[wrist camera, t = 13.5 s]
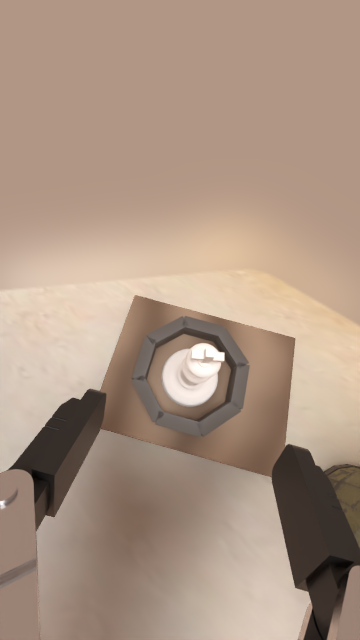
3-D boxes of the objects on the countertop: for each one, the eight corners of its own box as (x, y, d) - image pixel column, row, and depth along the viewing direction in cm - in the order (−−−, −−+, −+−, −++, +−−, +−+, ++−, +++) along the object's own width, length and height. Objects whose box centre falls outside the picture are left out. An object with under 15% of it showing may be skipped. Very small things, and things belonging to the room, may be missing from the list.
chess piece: (164, 347, 22) (165, 301, 13) (217, 351, 22) (258, 310, 13) (158, 404, 20) (154, 401, 11) (216, 408, 20) (262, 410, 11)
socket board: (94, 423, 21) (79, 426, 17) (137, 303, 25) (132, 285, 22) (271, 473, 21) (294, 488, 17) (285, 343, 25) (306, 332, 21)
